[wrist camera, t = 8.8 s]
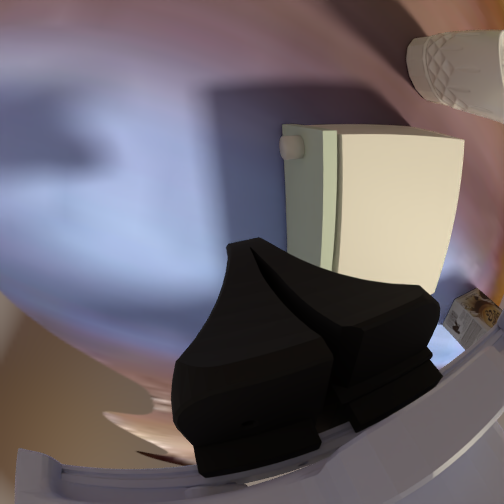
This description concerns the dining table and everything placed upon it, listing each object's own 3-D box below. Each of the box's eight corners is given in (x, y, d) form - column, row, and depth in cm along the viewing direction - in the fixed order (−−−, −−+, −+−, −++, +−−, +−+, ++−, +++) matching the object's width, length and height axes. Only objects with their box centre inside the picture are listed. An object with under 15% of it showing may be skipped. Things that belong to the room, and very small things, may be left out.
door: (297, 300, 24) (323, 343, 19) (277, 305, 24) (300, 350, 19) (294, 123, 16) (338, 130, 12) (267, 125, 16) (303, 131, 11)
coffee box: (477, 286, 37) (530, 335, 23) (465, 312, 40) (513, 361, 27) (454, 298, 35) (514, 358, 22) (440, 326, 38) (492, 384, 25)
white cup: (390, 73, 16) (494, 80, 8) (411, 16, 13) (500, 10, 5) (438, 123, 19) (523, 149, 11) (455, 68, 16) (533, 81, 8)
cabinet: (397, 261, 26) (434, 292, 21) (300, 291, 24) (330, 337, 19) (411, 126, 19) (464, 140, 14) (293, 126, 17) (342, 134, 12)
